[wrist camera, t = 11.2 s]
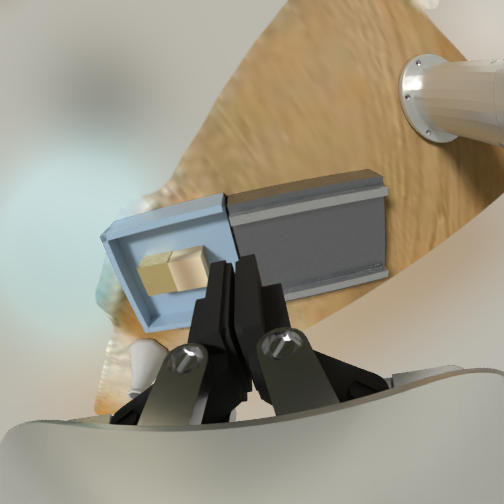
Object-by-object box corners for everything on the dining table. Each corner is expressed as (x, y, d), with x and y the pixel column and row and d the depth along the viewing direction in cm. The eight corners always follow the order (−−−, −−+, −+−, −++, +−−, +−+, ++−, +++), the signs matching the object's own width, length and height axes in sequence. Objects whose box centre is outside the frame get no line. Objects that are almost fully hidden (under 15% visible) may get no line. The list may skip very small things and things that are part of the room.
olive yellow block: (172, 250, 35) (167, 262, 32) (181, 277, 37) (178, 290, 34) (143, 256, 35) (136, 268, 33) (154, 283, 37) (148, 296, 34)
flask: (177, 361, 47) (169, 407, 38) (145, 369, 48) (134, 412, 39) (154, 332, 44) (140, 379, 35) (122, 343, 45) (105, 386, 36)
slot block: (368, 169, 34) (387, 178, 29) (373, 263, 40) (388, 282, 36) (228, 195, 35) (226, 209, 30) (252, 290, 41) (254, 313, 36)
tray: (223, 192, 35) (221, 204, 30) (249, 294, 41) (251, 315, 37) (114, 221, 35) (99, 236, 31) (153, 311, 42) (145, 332, 38)
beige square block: (203, 244, 35) (200, 256, 32) (211, 272, 37) (210, 285, 34) (172, 251, 35) (167, 263, 33) (182, 278, 37) (178, 291, 34)
